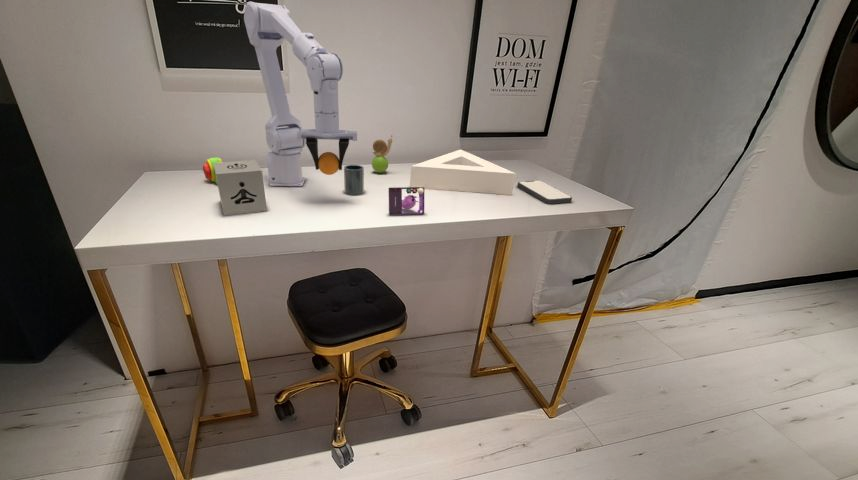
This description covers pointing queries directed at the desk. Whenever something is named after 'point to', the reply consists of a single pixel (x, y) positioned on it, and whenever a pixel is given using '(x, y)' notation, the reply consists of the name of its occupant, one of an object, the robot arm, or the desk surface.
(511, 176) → the triangle block
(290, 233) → the desk surface
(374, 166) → the snail figurine
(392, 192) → the purple product box
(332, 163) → the ball
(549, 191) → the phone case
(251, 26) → the robot arm
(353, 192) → the cup
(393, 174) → the desk surface
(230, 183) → the icon cube
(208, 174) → the red green curved piece
